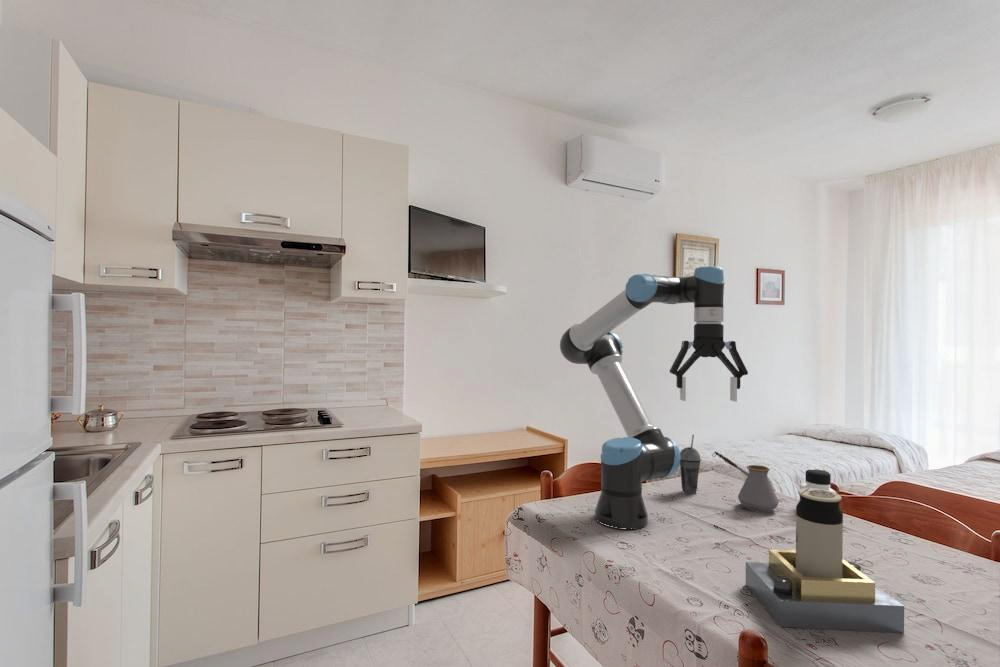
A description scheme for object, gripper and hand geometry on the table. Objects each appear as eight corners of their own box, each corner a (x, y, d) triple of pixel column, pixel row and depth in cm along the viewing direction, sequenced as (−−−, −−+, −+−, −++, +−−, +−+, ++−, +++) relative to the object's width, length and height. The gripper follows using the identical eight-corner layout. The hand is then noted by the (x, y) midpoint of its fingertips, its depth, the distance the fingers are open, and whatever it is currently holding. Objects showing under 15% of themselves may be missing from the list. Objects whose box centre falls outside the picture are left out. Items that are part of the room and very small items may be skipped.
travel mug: (849, 584, 101) (850, 495, 101) (831, 596, 96) (832, 502, 96) (806, 569, 107) (807, 485, 107) (788, 579, 103) (789, 491, 103)
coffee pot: (785, 510, 157) (786, 462, 157) (765, 517, 151) (766, 467, 151) (723, 491, 175) (723, 448, 175) (702, 497, 169) (703, 453, 169)
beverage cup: (674, 489, 177) (675, 432, 177) (694, 489, 178) (695, 432, 178) (683, 496, 170) (684, 437, 170) (704, 495, 171) (705, 436, 171)
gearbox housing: (780, 627, 95) (781, 582, 95) (745, 584, 111) (745, 546, 111) (904, 633, 93) (904, 587, 93) (850, 588, 109) (850, 549, 109)
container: (837, 517, 151) (837, 474, 151) (808, 515, 153) (809, 473, 153) (826, 509, 159) (826, 467, 159) (799, 507, 160) (799, 466, 160)
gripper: (665, 322, 135) (665, 401, 135) (761, 323, 134) (760, 403, 134) (659, 323, 143) (658, 397, 143) (749, 323, 141) (749, 399, 141)
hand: (708, 400), depth 138 cm, fingers open, 13 cm apart
